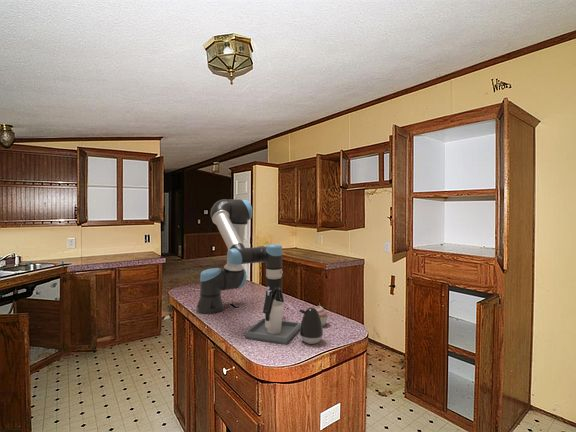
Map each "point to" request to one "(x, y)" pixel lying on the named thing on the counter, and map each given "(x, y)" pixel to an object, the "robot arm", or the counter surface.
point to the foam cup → (276, 317)
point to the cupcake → (322, 314)
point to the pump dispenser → (311, 326)
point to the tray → (283, 337)
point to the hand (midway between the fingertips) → (273, 322)
